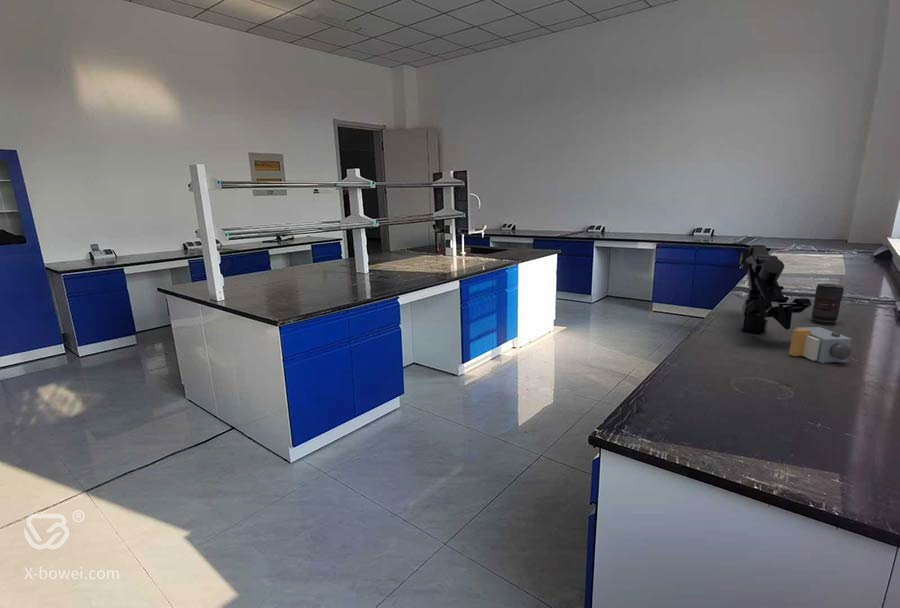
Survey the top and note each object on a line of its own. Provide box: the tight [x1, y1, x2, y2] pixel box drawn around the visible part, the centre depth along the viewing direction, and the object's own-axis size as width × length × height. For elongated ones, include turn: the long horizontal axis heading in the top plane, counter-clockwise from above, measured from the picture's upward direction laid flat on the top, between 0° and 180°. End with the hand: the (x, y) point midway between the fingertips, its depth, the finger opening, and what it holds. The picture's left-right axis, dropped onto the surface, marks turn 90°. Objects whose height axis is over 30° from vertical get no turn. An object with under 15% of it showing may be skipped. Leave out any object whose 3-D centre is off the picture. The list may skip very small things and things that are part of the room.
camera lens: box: [811, 283, 845, 326], centre depth 174 cm, size 8×8×15 cm
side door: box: [788, 328, 820, 361], centre depth 141 cm, size 6×4×8 cm, turn 1°
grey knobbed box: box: [794, 326, 853, 364], centre depth 141 cm, size 14×8×8 cm, turn 1°
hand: (788, 329), depth 147 cm, fingers closed
